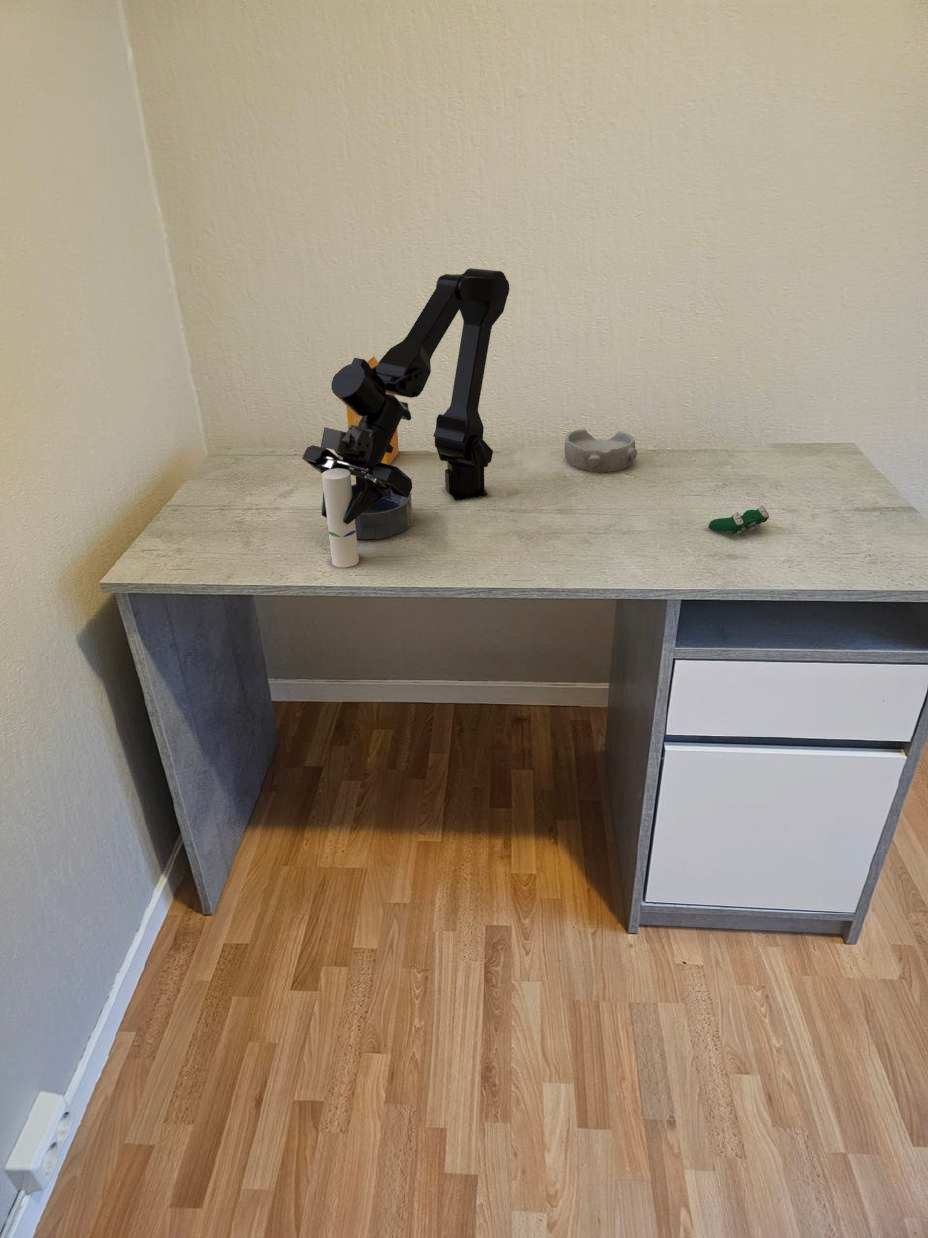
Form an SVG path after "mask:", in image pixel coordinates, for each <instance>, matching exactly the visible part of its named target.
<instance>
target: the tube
mask: <svg viewBox="0 0 928 1238" xmlns="http://www.w3.org/2000/svg"><path fill="white" fill-rule="evenodd" d="M351 477H352V475H350V471H348V470H346V469H340V468H338V469H330V470H327V471H325V472H323V473H321V479H322V489H323V492H324V497H325V506H326V514H327V518H326V522H327V529H328V537H329V538H328V539H329V547H330V556H331V563H332V565H333V566H335V567H338V568H350V567H353V566H356V565H357V564H358V563H359V561H360V557H359V548H358V546H359V545H358V538H357V536H356V527H355V519H354V520H353V521H352V522H351V523H349V524H345V523H344V522H343V519H344V516H345V513H346V511H347V508H348V506H349V504H350V501H351V499H352V497H353V496H352V486H351V485H352V478H351Z"/></svg>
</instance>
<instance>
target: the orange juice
mask: <svg viewBox="0 0 928 1238" xmlns="http://www.w3.org/2000/svg"><path fill="white" fill-rule="evenodd" d="M366 362H367V363H368V364H369V365H370V367H371V368H373V367H375V366H377V365H378V363H379V361H378V360H377V358H376V357H375V356H373V357H371V358H370V359H369V360H367V361H366ZM386 394H389V393H386ZM389 395H393V396H394V397H396V395H394V394H389ZM345 407H346V417H347V430H348V429H349V427H350V426H352V425H354V426H358V424H359V422H360V419H361V417H362V416H359V415H357V414H355V413H354V412H353V411H352V410H351V409H350V408H349V407H348V406H346V405H345ZM390 445H391V446H392V447H393V451H392V453H388V452H386V453H385V455H384V457H383V460H382V462H381V463H384V464H388V465H391V463H392V462H393V460H394V459H395V458H396V456H397V455H398V454H399V452H400V451H399V450H400V449H399V435H398V428H397V429H396V431H395V433H394V436H393V438H392V440H391V442H390Z"/></svg>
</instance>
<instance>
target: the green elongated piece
mask: <svg viewBox="0 0 928 1238" xmlns="http://www.w3.org/2000/svg"><path fill="white" fill-rule="evenodd" d="M769 519H770V513H769V512H768V511H767V509H766V507H765V506H764V505H760V506H759V507H758V508H756V509H747V510H745V511H744V512H743V514H740V512H738V511H736V512H734V514H733V515H732V516H730V517H721V518H715V519H712V520H711V521H710V522H709V523H708V527H707V528H708V529H709V530H711V531H715V532H719V533H731V532H732V533H733V534H735V535H740V534H741V533H742V532H743V529H746V530H748V531H749V532H751V531H753V530H755V528H756V526H758V525H762V523H767V520H769Z"/></svg>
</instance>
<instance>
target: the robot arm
mask: <svg viewBox="0 0 928 1238" xmlns="http://www.w3.org/2000/svg"><path fill="white" fill-rule="evenodd" d="M509 294H510V282H509V280H508V279H507V276H506V275H505V273H504V272H503V271H501V270H495V269H494V270H493V269H482V268H474V267H473V268H471V267H470V268H467V269H466V270H465V271H464V272H463V273H460V274H457V273H455V274H453V273H445V274H443V275H440V276H439V277H438V279H437V281H436V284H435V289H434V290H433V293H432V294H431V295H430V298H429V299H428V300H427V302H426V304H425V305H424V307H423V309H422V311H421V312H420V314H419V316H418V317H417V319H416V320H415V322H414V324H413V325H412V327H410V330H409V332H408V333H407V335H406V336H405V337H404V339H403V340H402V341H400V342H398V343H396V344H395V345H393V346H392V347H390V348H389V349H388V350H387V351H386V353H385V354H384V355H383V356H382V357H381V359H380V360H379V361H378V365H377V366H375V367H373V368H371V367H370V365H369V364H368V363H367V362H368V361H367V360H366V359H364V358H358V357H353V360H352V361H351V363H349V364H347V365H345V366H344V367H342V368H341V369H340V370H339V371H338V372H337V373H335V374H334V375H333V378H332V380H331V391H332V394H334V396H335V397H337V398H338V399H339V400H340V401H341V402H342V403H343V404H344V405H345V407H346V406H348V407H349V408H350V409H351V410H352V411H353V412H354V413H355V414H357V415H359V416H362V417H361V419H360V422H359V424H358V426H354V425H352V426H350V427H349V429H348V428H347V431H343V430H338V429H334V428H330V427H325V426H324V428H323V433H322V437H321V443H320V446H318V445H314V444H312V445H310V446H307V447H306V449H305V451H304V453H303V455H302V457H301V459H302V460H303V461H304V462H306V463H307V464H308V465H310V466H311V467H312V468H313V469H314V470H316V471H317V472H319V473H320V474H322V473H323V472H325V471H327V470H330V469H338V468H340V469H346V470H348V471H350V476H354V477H355V484H356V490H355V492H354V495H353V497H352V499H351V501H350V504H349V506H348V508H347V511H346V513H345V516H344V519H343V522H344V523H345V524H349V523H351V522H352V521H353V520H354V519H355V518H357V517H358V516H359V515H360V514H361V513H363V512H364V511H365V510H366V509H368V508H369V507H370V506H372V505H373V504H375V503H376V502H377V501H379V500H380V499H382V498H383V497H386V498H387V497H388V496H389V494H388V493H387V491H388V489H389V487H390V486H391V490H392V493H393V494H395V495H398V496H402V497H405V498H408V496H409V494H410V493H411V492H412V490H413V481H412V479H411V478H410V476H408V475H407V474H406V473H405V472H404V471H403V470H402V469H400V468H399V467H398V466H395V465H391V464H389V465H388V464H384V463H381V462H382V460H383V457H384V455H385V453H386V452H388V453H392V451H393V447H392V446H391V445H390V442H391V440H392V438H393V436H394V433H395V431H396V429H397V430H398V427H399V425H400V423H401V420H404V421H411V420H412V413H411V411H410V409H409V403H408V402H405V401H400V400H399V399H398V398H397V396H399V397H405V398H410V399H411V398H412V399H413V398H417V397H419V396H420V395H421V394H422V392H423V391H424V388H425V387H426V385H427V382H428V380H429V378H430V375H431V373H432V368H431V360H432V357H433V355H434V353H435V351H436V349H437V348H438V346H439V344H440V343H441V341H442V339H443V338H444V336H445V334H446V333H447V331H448V329H449V328H450V326H451V324H452V323H453V320H454V319H455V318H456V316H457V314H458V313H459V312H460V315H461V319H462V321H463V322H462V329H461V330H462V331H461V337H460V344H459V349H458V356H457V361H456V368H455V375H454V379H453V380H454V381H453V387H452V394H451V400H450V405H449V407H448V408H447V409H446V411H445V412H444V413H443V414H441V413H439V414H437V417H436V420H435V430H434V433H433V438H434V447H435V448H436V451H437V454H438V458H439V461H441V462H446V463H447V468H445V469H444V483H445V484H444V485H445V486H444V487H445V491H446V492H447V494H448V495H450V497H452V499H453V500H454V501H462V500H469V499H476V498H483V497H487V496H489V495H488V491H487V490H486V489H485V468H488V467H489V464H490V463H491V462H492V460H493V454H494V450H493V449H492V448H491V447H490V445H488V443H487V442H486V441H485V440H484V424H483V422H482V418H481V416H480V413H479V404H480V399H481V394H482V388H483V381H484V375H485V369H486V364H487V357H488V351H489V347H490V340H491V333H492V328H493V326H494V325H495V323H496V322H497V321H498V319H499V318H500V317H501V315H502V314H503V313H504V311H505V308H506V303H507V300H508V297H509ZM386 393H389V394H394V395H395V397H394V396H393V395H389V394H386ZM326 448H328V449H326ZM329 449H332V450H334V451H335V453H336V454H337V455H339V456H341V457H342V458H343V459H342V460H341V459H340V458H338V457H337V456H336V455H335V454H333V453H332V452H331V451H330V450H329ZM321 516H322V517H324V518H326V519H327V514H326V506H325V497H324V491H323V493H322V505H321Z"/></svg>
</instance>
